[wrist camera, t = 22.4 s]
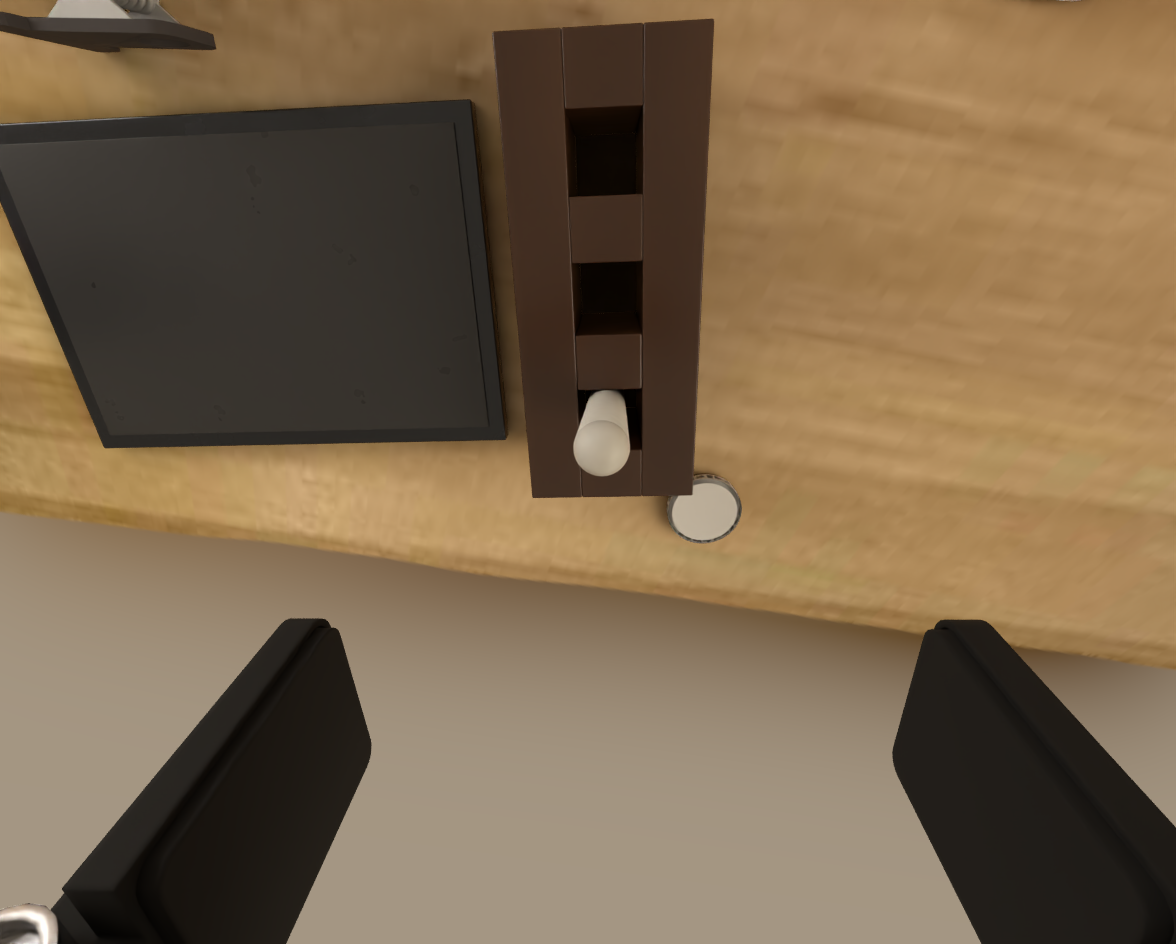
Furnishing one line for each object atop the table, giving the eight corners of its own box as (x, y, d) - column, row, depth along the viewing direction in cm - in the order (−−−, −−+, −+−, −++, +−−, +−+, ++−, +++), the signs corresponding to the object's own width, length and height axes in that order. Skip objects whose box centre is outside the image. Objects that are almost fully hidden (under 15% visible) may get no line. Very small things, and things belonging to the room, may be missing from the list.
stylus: (623, 375, 28) (630, 424, 15) (623, 406, 28) (631, 482, 15) (592, 376, 28) (569, 425, 15) (592, 407, 29) (572, 483, 15)
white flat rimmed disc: (736, 537, 31) (738, 543, 31) (665, 538, 32) (666, 544, 31) (742, 473, 30) (744, 478, 29) (667, 474, 30) (668, 479, 29)
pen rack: (689, 68, 23) (714, 18, 17) (677, 445, 29) (692, 495, 24) (520, 77, 23) (491, 30, 17) (546, 448, 30) (532, 498, 24)
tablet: (475, 102, 23) (470, 98, 23) (508, 435, 29) (505, 441, 29) (-14, 128, 24) (-36, 124, 24) (115, 443, 31) (101, 449, 30)
